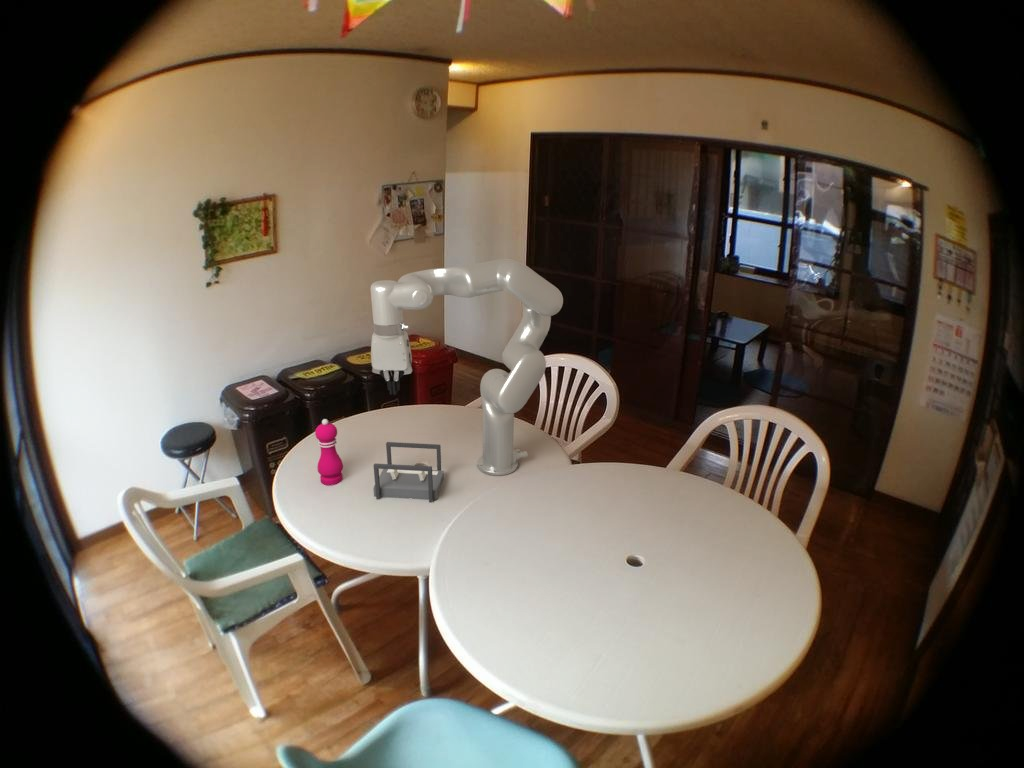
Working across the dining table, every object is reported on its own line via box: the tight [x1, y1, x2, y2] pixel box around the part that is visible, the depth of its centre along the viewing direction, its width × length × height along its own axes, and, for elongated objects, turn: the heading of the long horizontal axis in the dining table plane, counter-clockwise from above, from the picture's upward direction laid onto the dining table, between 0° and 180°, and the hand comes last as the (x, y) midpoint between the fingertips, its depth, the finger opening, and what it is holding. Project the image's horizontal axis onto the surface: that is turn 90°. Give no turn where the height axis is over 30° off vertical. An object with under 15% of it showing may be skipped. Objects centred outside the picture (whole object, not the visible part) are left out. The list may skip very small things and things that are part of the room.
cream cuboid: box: [418, 471, 426, 481], centre depth 163 cm, size 1×3×2 cm, turn 174°
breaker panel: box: [372, 469, 445, 501], centre depth 165 cm, size 18×11×3 cm, turn 86°
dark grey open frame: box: [373, 441, 442, 503], centre depth 163 cm, size 16×14×11 cm
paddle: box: [390, 469, 398, 479], centre depth 164 cm, size 1×3×2 cm, turn 174°
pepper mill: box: [314, 418, 344, 486], centre depth 164 cm, size 7×7×20 cm
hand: (394, 392), depth 155 cm, fingers closed
